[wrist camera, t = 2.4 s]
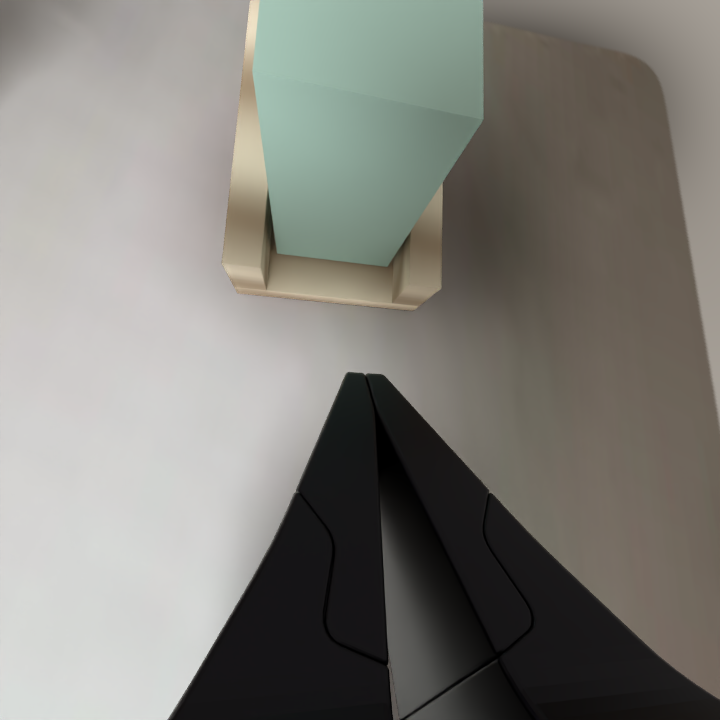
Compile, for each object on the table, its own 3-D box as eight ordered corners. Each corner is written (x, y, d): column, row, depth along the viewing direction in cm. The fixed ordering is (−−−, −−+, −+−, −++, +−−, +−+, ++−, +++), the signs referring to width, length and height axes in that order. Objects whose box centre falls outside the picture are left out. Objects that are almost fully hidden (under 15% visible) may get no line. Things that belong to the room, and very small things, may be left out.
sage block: (387, 266, 19) (483, 119, 9) (277, 253, 18) (252, 71, 8) (390, 169, 20) (482, -63, 10) (285, 150, 19) (273, -127, 9)
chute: (413, 310, 20) (441, 288, 16) (237, 293, 18) (221, 263, 14) (419, 63, 22) (445, -9, 19) (264, 26, 21) (256, -61, 17)
